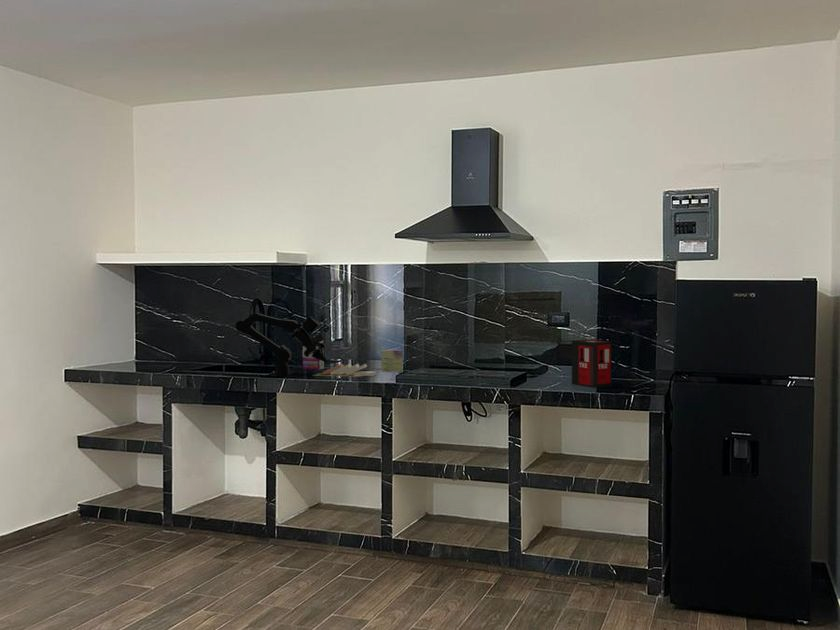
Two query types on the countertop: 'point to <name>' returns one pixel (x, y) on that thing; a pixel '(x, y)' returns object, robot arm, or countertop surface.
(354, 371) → the domino
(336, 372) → the domino
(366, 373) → the domino
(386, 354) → the box
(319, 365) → the candy bar box
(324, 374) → the domino
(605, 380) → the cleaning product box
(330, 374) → the domino board
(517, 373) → the countertop surface
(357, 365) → the domino
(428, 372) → the countertop surface
